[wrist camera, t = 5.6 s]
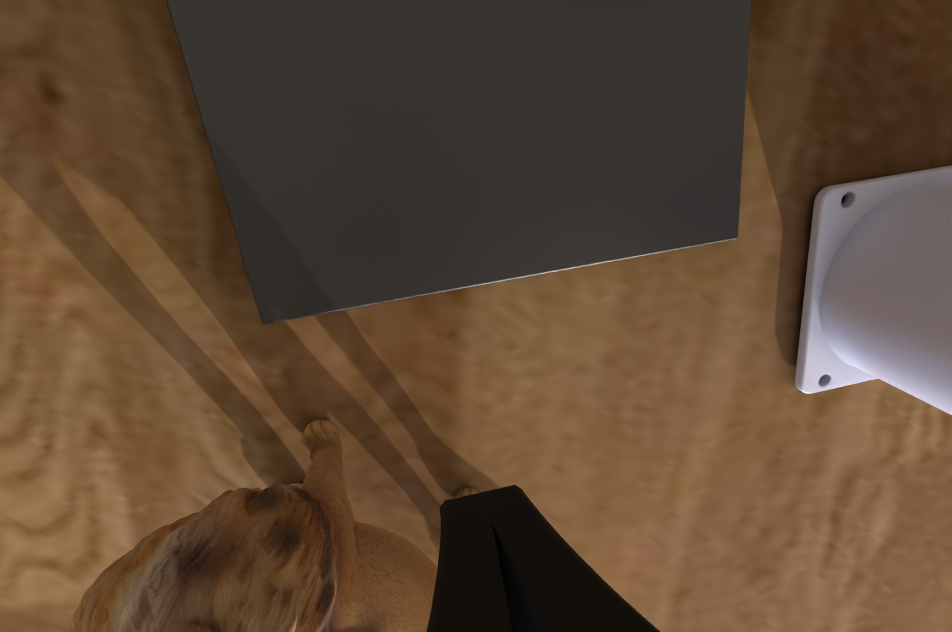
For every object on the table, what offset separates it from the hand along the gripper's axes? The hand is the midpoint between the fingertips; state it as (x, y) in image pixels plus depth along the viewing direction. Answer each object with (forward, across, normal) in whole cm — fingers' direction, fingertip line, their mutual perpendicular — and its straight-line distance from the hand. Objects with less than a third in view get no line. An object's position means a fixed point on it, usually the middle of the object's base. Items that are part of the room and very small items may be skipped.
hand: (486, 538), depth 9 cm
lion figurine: (+9, +3, +6) cm, 12 cm away
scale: (+9, -3, -9) cm, 13 cm away
